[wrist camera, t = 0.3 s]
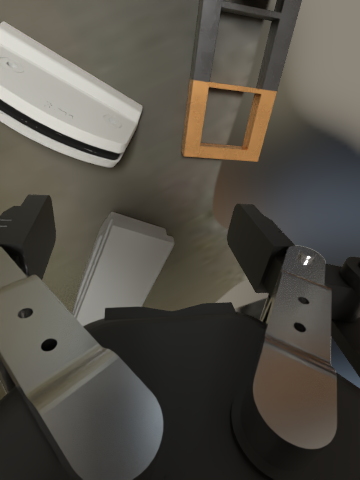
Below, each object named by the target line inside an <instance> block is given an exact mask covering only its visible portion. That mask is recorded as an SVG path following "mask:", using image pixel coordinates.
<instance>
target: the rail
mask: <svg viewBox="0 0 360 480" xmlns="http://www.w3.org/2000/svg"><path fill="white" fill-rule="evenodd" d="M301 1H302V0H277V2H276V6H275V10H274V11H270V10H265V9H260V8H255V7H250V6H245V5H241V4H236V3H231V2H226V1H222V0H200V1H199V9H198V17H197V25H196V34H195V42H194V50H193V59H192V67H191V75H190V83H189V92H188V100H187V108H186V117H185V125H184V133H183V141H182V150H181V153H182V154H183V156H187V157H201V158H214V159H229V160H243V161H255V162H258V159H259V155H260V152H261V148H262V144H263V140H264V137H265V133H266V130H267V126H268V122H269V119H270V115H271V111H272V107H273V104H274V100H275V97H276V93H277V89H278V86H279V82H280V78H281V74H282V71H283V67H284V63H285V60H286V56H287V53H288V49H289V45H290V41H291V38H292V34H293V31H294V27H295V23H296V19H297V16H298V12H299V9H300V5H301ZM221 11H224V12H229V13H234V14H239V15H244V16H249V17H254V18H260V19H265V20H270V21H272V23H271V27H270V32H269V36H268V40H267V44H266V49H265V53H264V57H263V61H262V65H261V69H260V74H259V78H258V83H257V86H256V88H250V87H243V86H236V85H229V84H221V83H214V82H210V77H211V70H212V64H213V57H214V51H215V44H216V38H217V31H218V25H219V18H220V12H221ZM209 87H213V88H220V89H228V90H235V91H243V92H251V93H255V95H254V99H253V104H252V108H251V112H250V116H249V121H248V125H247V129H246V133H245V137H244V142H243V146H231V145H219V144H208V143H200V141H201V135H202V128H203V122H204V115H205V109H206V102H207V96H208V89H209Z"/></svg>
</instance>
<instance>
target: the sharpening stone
mask: <svg viewBox="0 0 360 480" xmlns="http://www.w3.org/2000/svg"><path fill="white" fill-rule="evenodd" d="M174 244H175V242H174V239H173V237H171V236H168V235H167V233H166V229H165V228H162V227H158V226H155V225H152V224H149V223H146V222H143V221H140V220H136V219H133V218H130V217H127V216H124V215H121V214H118V213H114V212H111V213H110V214H109V215H108V217H107V218H106V220H105V221H104V223H103V224H102V225H101V227H100V230H99V233H98V235H97V238H96V241H95V244H94V246H93V249H92V252H91V255H90V257H89V260H88V263H87V265H86V268H85V271H84V274H83V276H82V279H81V282H80V286H79V290H78V293H77V297H76V300H75V304H74V307H73V311H72V315H73V316H74V317H75V318H76V319H77V320H78V321H79V323H80V324H81V325H82V326H85V325H87V324H89V323H91V322H94V321H97V320H100V319H103V318H104V317H105V308H114V307H137V306H139V307H142V305H143V303H144V301H145V299H146V297H147V295H148V293H149V292H150V290H151V288H152V286H153V284H154V282H155V280H156V278H157V276H158V275H159V273H160V271H161V269H162V267H163V265H164V263H165V261H166V259H167V258H168V256H169V254H170V252H171V250H172V248H173V246H174Z"/></svg>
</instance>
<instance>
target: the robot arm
mask: <svg viewBox="0 0 360 480" xmlns="http://www.w3.org/2000/svg"><path fill="white" fill-rule="evenodd" d="M55 239H56V229H55V222H54V214H53V207H52V200H51V197H50V196H49V195H30V194H29V195H28V196H27V197H26V199H25V200H24V202H23V203H22V205H21V206H13V207H11V208H10V209H8V210H6V211H4V212H3V213H2V214H1V216H0V381H1V383H2V385H3V387H4V389H5V391H6V393H7V395H6V396H4V397H3V398H2V399H1V400H0V480H360V388H358V387H357V386H355V385H354V384H352V383H351V382H350V381H348V380H346V379H345V378H344V377H342V376H341V375H340V374H338V373H337V372H336V371H335V369H334V368H333V367H332V366H331V336H332V338H333V339H334V341H335V342H336V344H337V345H338V347H339V348H340V350H341V351H342V352H343V354H344V355H345V357H346V358H347V360H348V361H349V363H350V364H351V365H352V367H353V368H354V370H355V371H356V373H357V374H358V376H359V377H360V317H359V316H360V258H359V257H348V258H347V259H346V261H345V262H344V264H343V266H342V267H341V266H335V265H331V264H326V262H325V259H324V258H323V257H322V256H321V255H320V254H319V253H318V252H316V251H314V250H312V249H310V248H307V247H303V246H295V245H294V244H293V243H292V241H291V240H290V239H289V238H288V237H287V236H286V235H285V234H284V233H282V231H281V230H280V229H279V228H278V227H277V225H276V224H275V223H274V222H273V221H272V220H270V219H269V218H267V217H266V216H264V215H263V214H262V213H261V212H260V211H259V210H258V209H257V208H256V207H255V206H254V205H252V204H237V205H236V206H235V208H234V211H233V215H232V219H231V223H230V226H229V230H228V235H227V241H228V245H229V247H230V249H231V250H232V252H233V254H234V256H235V257H236V259H237V261H238V263H239V264H240V266H241V268H242V269H243V271H244V273H245V275H246V276H247V278H248V280H249V282H250V283H251V285H252V287H253V289H254V290H255V292H256V293H269V295H268V298H267V300H266V303H265V306H264V309H263V312H262V315H261V318H260V320H259V319H257V318H254V317H252V316H249V315H246V314H243V313H239V312H236V311H235V309H234V307H233V305H232V303H231V302H229V303H206V304H200V305H196V306H192V307H188V308H185V309H181V310H177V311H165V310H159V309H152V308H146V307H139V306H137V307H114V308H105V317H104V318H103V319H100V320H97V321H94V322H91V323H89V324H87V325H85V326H82V325H81V324H80V323H79V321H78V320H77V319H76V318H75V317H74V316H73V315H72V314H71V313H70V311H69V310H68V309H67V308H66V307H65V306H64V305H63V304H62V303H61V301H60V300H59V299H58V298H57V297H56V296H55V295H54V294H53V293H52V291H51V290H50V289H49V288H48V287H47V286H46V285H45V284H44V283H43V281H42V278H43V275H44V273H45V270H46V267H47V264H48V261H49V258H50V256H51V253H52V250H53V247H54V244H55Z"/></svg>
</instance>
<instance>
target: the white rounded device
mask: <svg viewBox="0 0 360 480" xmlns="http://www.w3.org/2000/svg"><path fill="white" fill-rule="evenodd" d="M142 107H143V106H142V105H140V104H138V103H137V102H135V101H133V100H132V99H130V98H129V97H127V96H125V95H124V94H122V93H120V92H119V91H117V90H115V89H114V88H112V87H111V86H109V85H107V84H106V83H104V82H102V81H101V80H99V79H97V78H96V77H94V76H93V75H91V74H89V73H88V72H86V71H84V70H83V69H81V68H79V67H78V66H76V65H74V64H73V63H71V62H70V61H68V60H66V59H65V58H63V57H61V56H60V55H58V54H56V53H55V52H53V51H52V50H50V49H48V48H47V47H45V46H43V45H42V44H40V43H38V42H37V41H35V40H34V39H32V38H30V37H29V36H27V35H25V34H24V33H22V32H20V31H19V30H17V29H15V28H14V27H12V26H11V25H9V24H7V23H6V22H2V23H0V121H1V122H2V123H4V124H6V125H7V126H9V127H10V128H12V129H14V130H16V131H17V132H19V133H21V134H22V135H24V136H26V137H28V138H30V139H32V140H34V141H36V142H38V143H40V144H42V145H44V146H46V147H49V148H51V149H53V150H56V151H58V152H60V153H63V154H65V155H68V156H71V157H73V158H76V159H79V160H82V161H85V162H89V163H92V164H96V165H100V166H104V167H114V166H115V165H116V164H117V163H118V162H119V160H120V159H121V157H122V155H123V153H124V151H125V149H126V148H127V146H128V144H129V142H130V140H131V138H132V136H133V134H134V132H135V130H136V128H137V125H138V122H139V119H140V115H141V112H142Z"/></svg>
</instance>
